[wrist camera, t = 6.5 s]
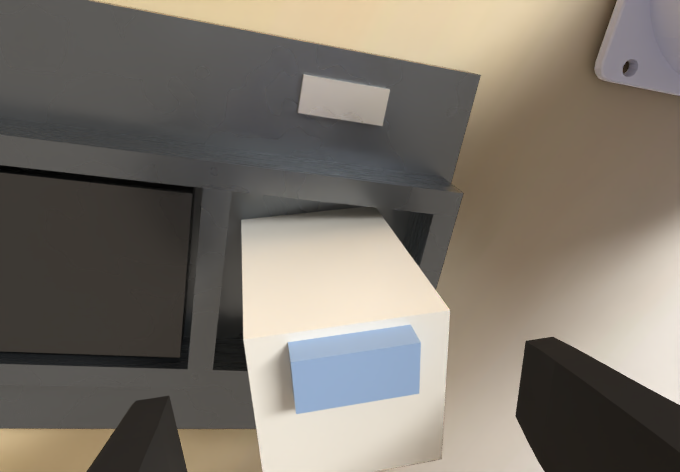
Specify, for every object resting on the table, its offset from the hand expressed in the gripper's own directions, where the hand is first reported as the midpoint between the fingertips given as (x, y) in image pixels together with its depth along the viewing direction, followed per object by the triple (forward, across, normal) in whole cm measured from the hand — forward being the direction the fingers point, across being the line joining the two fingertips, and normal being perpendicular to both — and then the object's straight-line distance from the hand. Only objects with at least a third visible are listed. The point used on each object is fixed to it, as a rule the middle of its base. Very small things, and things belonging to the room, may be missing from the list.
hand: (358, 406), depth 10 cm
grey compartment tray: (+7, +6, -1) cm, 10 cm away
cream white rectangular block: (+6, 0, 0) cm, 6 cm away
